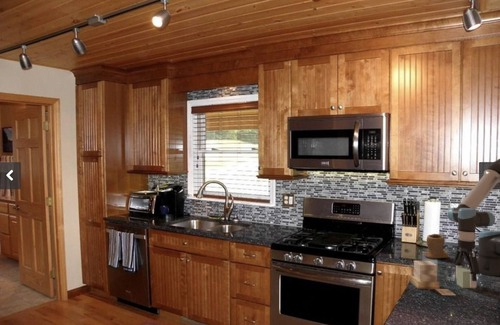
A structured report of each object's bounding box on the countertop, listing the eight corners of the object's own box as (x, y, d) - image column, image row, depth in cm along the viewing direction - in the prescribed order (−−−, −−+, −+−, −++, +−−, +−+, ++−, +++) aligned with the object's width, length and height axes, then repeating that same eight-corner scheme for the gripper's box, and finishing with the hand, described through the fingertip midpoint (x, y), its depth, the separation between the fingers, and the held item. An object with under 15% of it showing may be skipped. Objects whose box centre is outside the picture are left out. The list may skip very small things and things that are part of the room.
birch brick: (429, 276, 194) (430, 260, 194) (436, 281, 186) (437, 265, 186) (413, 276, 194) (413, 260, 194) (420, 281, 186) (420, 264, 186)
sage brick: (468, 284, 192) (469, 268, 192) (475, 288, 186) (475, 271, 186) (456, 284, 192) (456, 268, 192) (462, 288, 186) (462, 271, 186)
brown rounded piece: (429, 260, 238) (429, 236, 238) (421, 255, 250) (421, 232, 250) (453, 260, 237) (454, 236, 237) (444, 255, 249) (444, 232, 249)
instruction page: (447, 289, 184) (447, 288, 184) (456, 295, 176) (456, 294, 176) (435, 289, 184) (435, 288, 184) (442, 295, 176) (442, 294, 176)
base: (430, 281, 195) (430, 276, 195) (440, 288, 184) (440, 282, 184) (409, 281, 196) (409, 275, 196) (417, 288, 185) (417, 282, 185)
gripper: (446, 234, 202) (446, 275, 202) (472, 245, 177) (471, 291, 177) (461, 235, 201) (460, 275, 201) (488, 245, 176) (488, 291, 176)
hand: (465, 282), depth 189 cm, fingers open, 13 cm apart
